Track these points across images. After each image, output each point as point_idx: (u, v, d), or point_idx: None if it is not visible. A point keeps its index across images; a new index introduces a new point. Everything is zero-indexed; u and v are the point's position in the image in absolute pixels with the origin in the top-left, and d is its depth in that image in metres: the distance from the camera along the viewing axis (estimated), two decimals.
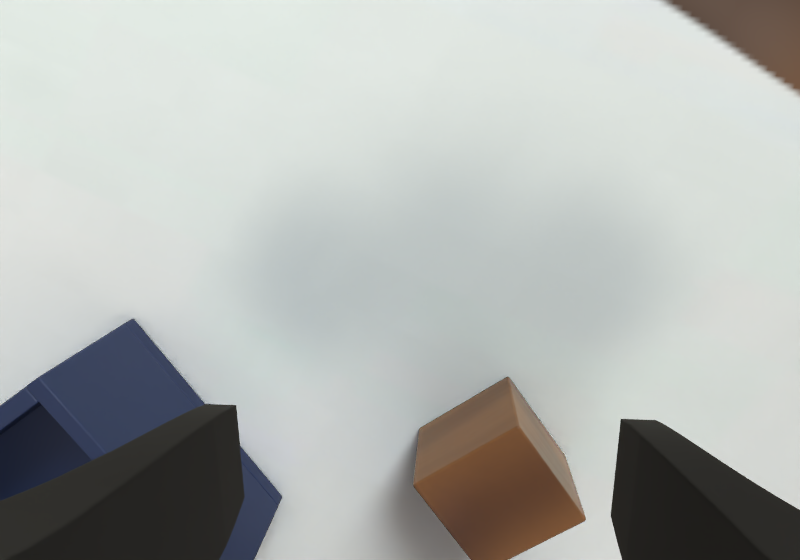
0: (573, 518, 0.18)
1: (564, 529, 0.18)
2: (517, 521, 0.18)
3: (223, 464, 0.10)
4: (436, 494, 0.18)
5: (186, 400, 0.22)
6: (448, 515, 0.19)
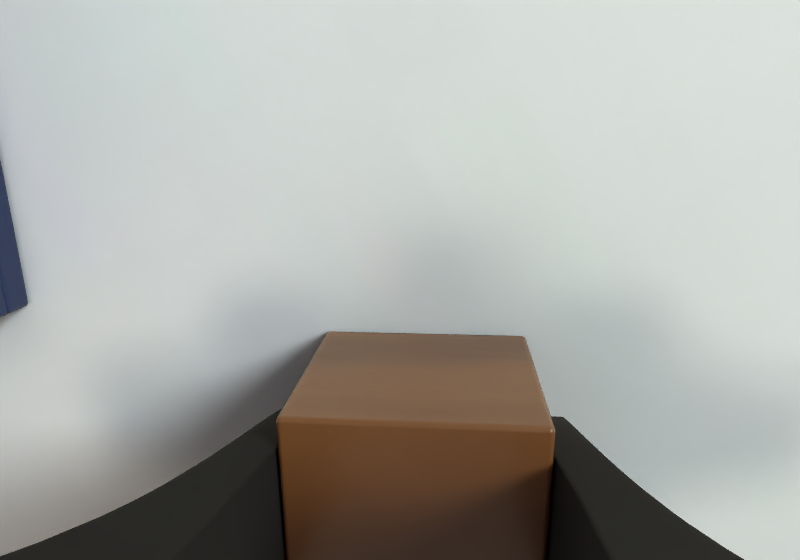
0: None
1: None
2: None
3: None
4: (309, 461, 0.08)
5: None
6: (305, 510, 0.09)
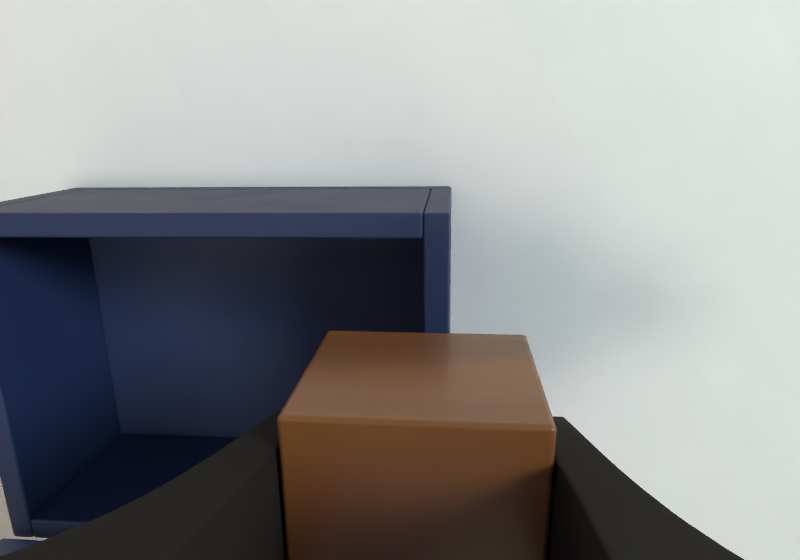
0: None
1: None
2: None
3: None
4: (310, 459, 0.08)
5: None
6: (306, 508, 0.09)
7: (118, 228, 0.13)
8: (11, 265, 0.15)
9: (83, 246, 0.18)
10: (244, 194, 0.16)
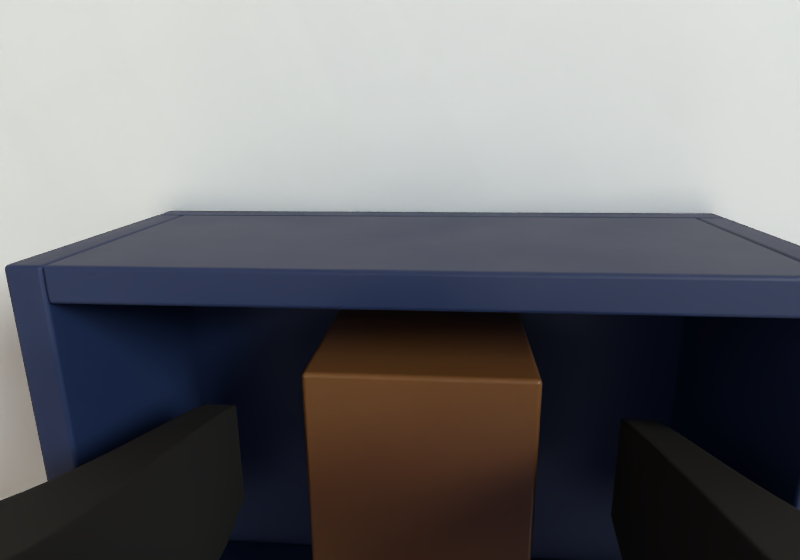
0: None
1: None
2: (426, 525, 0.10)
3: (223, 464, 0.10)
4: (330, 410, 0.10)
5: None
6: (325, 454, 0.10)
7: (302, 294, 0.08)
8: (103, 337, 0.10)
9: None
10: (439, 227, 0.11)
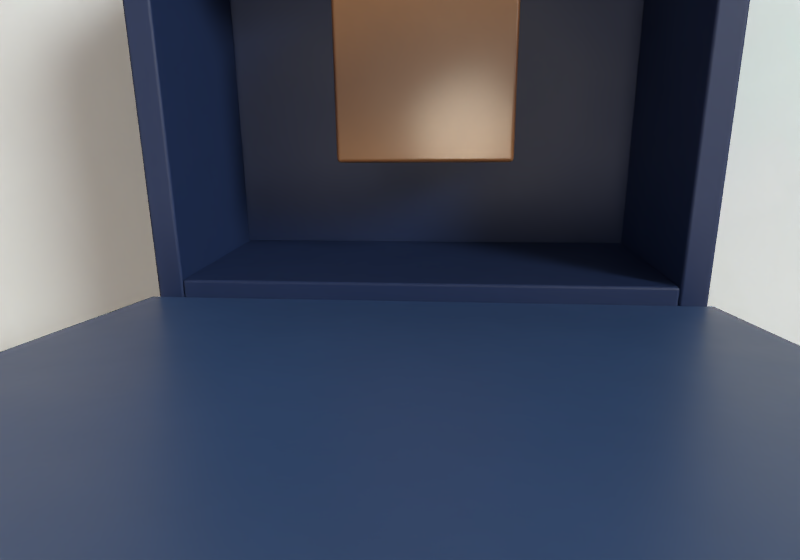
0: (499, 147, 0.13)
1: (478, 158, 0.13)
2: (429, 110, 0.13)
3: None
4: (353, 3, 0.12)
5: None
6: (349, 46, 0.12)
7: None
8: None
9: None
10: None
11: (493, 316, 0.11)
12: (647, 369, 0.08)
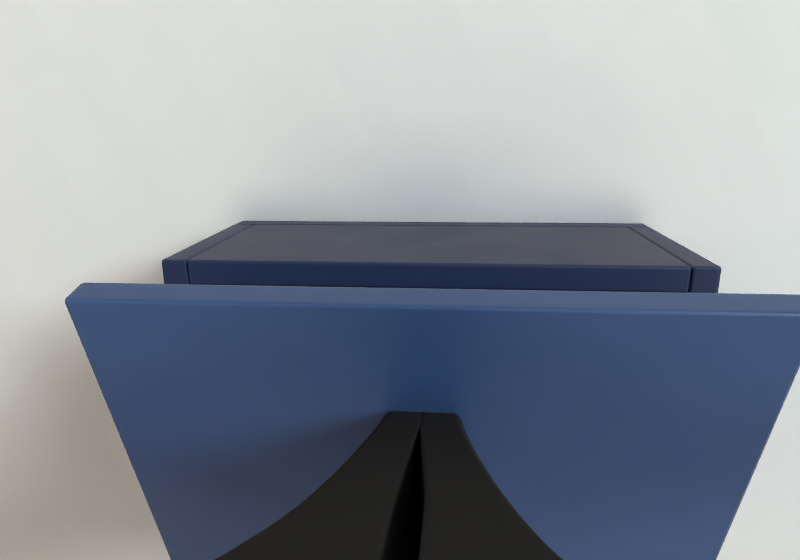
0: None
1: None
2: None
3: (419, 473, 0.10)
4: None
5: None
6: None
7: (356, 278, 0.13)
8: None
9: None
10: (442, 233, 0.16)
11: None
12: None
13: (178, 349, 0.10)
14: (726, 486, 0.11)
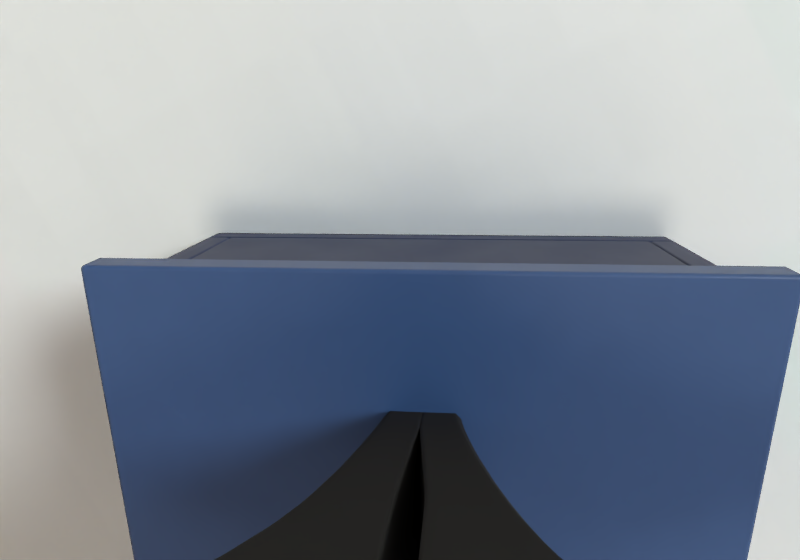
0: None
1: None
2: None
3: (419, 473, 0.10)
4: None
5: None
6: None
7: None
8: None
9: None
10: (441, 249, 0.14)
11: None
12: None
13: (184, 321, 0.10)
14: (739, 486, 0.10)
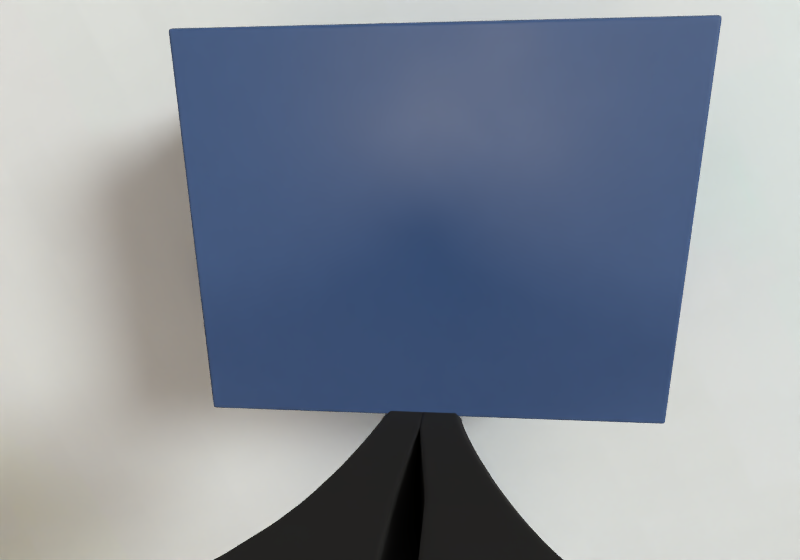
0: None
1: None
2: None
3: (419, 473, 0.10)
4: None
5: None
6: None
7: None
8: None
9: None
10: None
11: None
12: None
13: (248, 73, 0.13)
14: (678, 201, 0.13)
